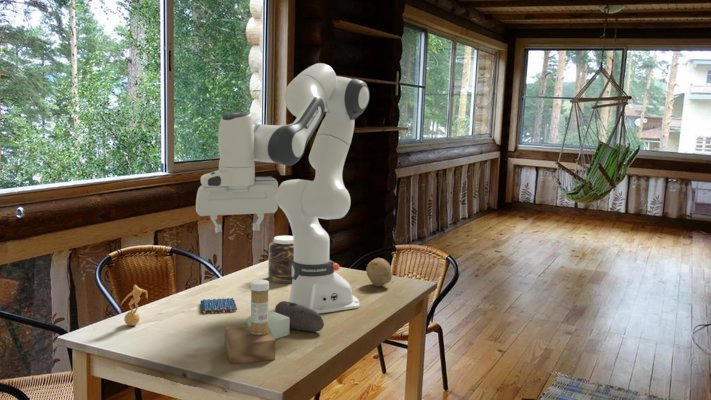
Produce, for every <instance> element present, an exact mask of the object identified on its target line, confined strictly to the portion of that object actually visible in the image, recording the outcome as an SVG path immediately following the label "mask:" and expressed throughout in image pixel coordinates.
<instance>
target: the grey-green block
mask: <svg viewBox="0 0 711 400" xmlns="http://www.w3.org/2000/svg"><path fill="white" fill-rule="evenodd" d="M289 324H290V318H289V317H287V316H284V315H281V314H279V313H276V312H275V311H274V310H271V309H270V310H269V317H268V327H269V329H270V331H271V333H272V335H273V337H274V339H275V340H276V339H279V338H282V337H285V336H289V335H290V328H289ZM247 326H251V315H249V316H247Z"/></svg>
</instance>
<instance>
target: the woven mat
mask: <svg viewBox="0 0 711 400" xmlns="http://www.w3.org/2000/svg"><path fill="white" fill-rule="evenodd" d="M200 309H201V310H200V311H201V314H203V315H206V314H210V313H211V314H217V313H218V314H222V312H223V314H224V313H229V312H230V313H233V312H234V313H236V312H237V311H238V308H237V305H236V302H235V299H234V297H232V298H229V297H227V298H224V297H222V298H218V299H217V298H211V299H210V298H208V299H202V300H200Z"/></svg>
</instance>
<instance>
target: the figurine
mask: <svg viewBox="0 0 711 400" xmlns="http://www.w3.org/2000/svg"><path fill="white" fill-rule="evenodd" d="M132 289H133V290H132V291H130V293H129V294H127V295H126V297H124V298H123V300H122V302H121V304H120V306H122V305H123V304H124V302H125V301H127V300H128V298H129V297H131V296H132V298H131V299H130V301H129V303H128V307H129V308H130V311H129V312H127V313H126V314H125V315H124V323H125V325H128V326H129V327H133V326H136V325H137V324H138V323H139V322H140V315H139V313H138V312H137V311H138V310H139V309H138V307H139V305H138V303H139V302H140V301H141V297H140V296H141V295H142V293H145V296H144V297H145V298H146V299H147V300H148V297H149V296H148V291H147V290H145V289H143V288H140V287H139V286H138V285H137V284H133V288H132ZM133 305H134V306H135V307H133ZM134 308H135V309H134Z"/></svg>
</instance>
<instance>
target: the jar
mask: <svg viewBox="0 0 711 400" xmlns="http://www.w3.org/2000/svg"><path fill="white" fill-rule="evenodd" d="M293 259H294V243H293V235H276V236H274V237H273V241H272V242H270V243H269V246H268V265H267V266H268V267H267V268H268V274H267V275H268V281H269V282H273V283H278V284H292V280H293V278H292V260H293Z"/></svg>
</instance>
